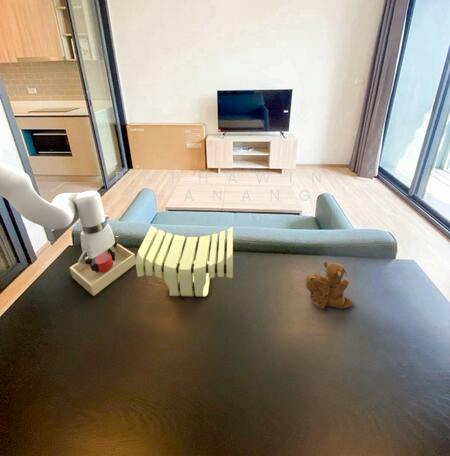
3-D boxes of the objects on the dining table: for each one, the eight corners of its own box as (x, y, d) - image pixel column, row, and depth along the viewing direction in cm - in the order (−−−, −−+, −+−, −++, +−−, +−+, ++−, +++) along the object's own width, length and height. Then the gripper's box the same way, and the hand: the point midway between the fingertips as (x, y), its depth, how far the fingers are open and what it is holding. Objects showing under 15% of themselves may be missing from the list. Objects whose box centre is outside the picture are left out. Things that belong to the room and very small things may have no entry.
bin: (72, 277, 90) (69, 267, 88) (114, 249, 104) (112, 240, 102) (93, 296, 83) (90, 286, 81) (136, 263, 96) (134, 254, 94)
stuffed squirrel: (354, 305, 78) (362, 273, 74) (318, 320, 74) (324, 287, 69) (332, 280, 87) (337, 251, 82) (298, 293, 82) (302, 262, 78)
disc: (92, 267, 92) (90, 259, 90) (107, 257, 96) (105, 249, 95) (101, 274, 88) (99, 266, 87) (116, 264, 93) (114, 256, 92)
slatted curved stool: (142, 300, 81) (134, 258, 74) (156, 263, 96) (151, 225, 89) (232, 302, 80) (232, 259, 73) (232, 264, 94) (232, 226, 88)
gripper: (110, 210, 94) (118, 247, 101) (63, 234, 81) (75, 275, 87) (122, 216, 91) (130, 254, 97) (74, 243, 77) (86, 285, 83)
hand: (104, 264), depth 92 cm, fingers closed on disc, 6 cm apart
